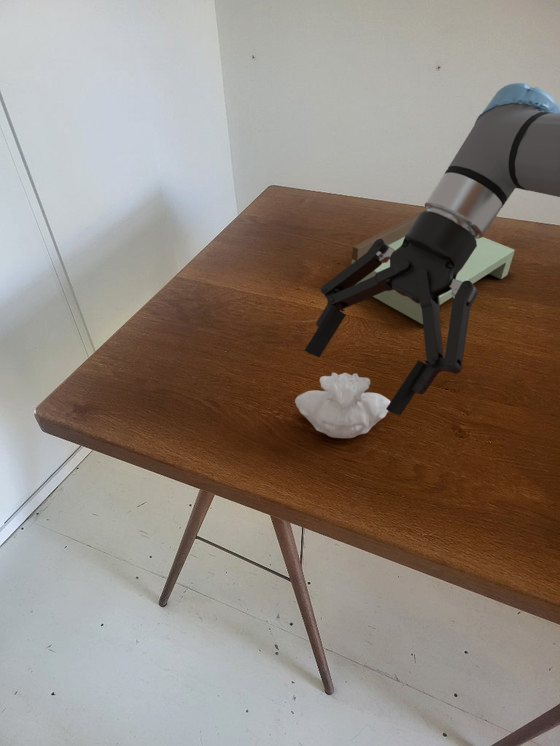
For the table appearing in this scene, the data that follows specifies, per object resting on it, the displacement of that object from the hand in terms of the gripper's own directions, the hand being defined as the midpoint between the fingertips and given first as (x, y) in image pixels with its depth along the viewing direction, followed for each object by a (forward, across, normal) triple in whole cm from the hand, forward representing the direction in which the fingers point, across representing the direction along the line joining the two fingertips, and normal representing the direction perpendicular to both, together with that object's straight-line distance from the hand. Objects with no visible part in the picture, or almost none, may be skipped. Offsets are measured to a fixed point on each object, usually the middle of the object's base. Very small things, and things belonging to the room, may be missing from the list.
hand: (349, 381), depth 63 cm
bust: (+6, 0, -4) cm, 8 cm away
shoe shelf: (-19, +14, -30) cm, 38 cm away
